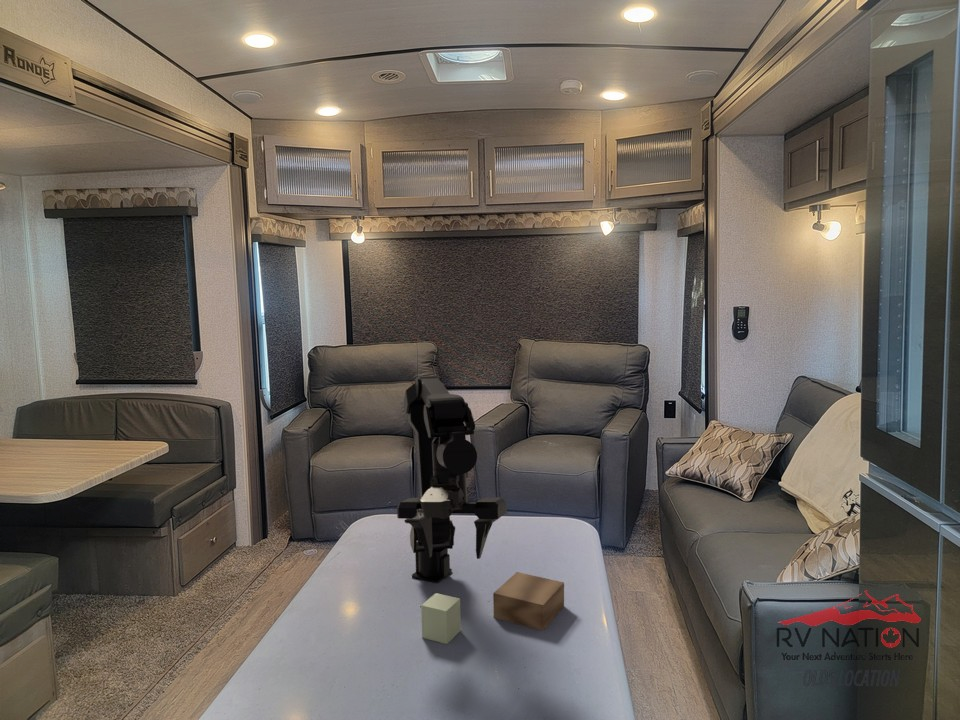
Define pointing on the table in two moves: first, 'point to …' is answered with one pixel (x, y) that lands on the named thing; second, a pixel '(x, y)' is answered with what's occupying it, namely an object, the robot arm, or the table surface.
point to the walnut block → (529, 600)
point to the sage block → (441, 618)
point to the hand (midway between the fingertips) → (454, 557)
